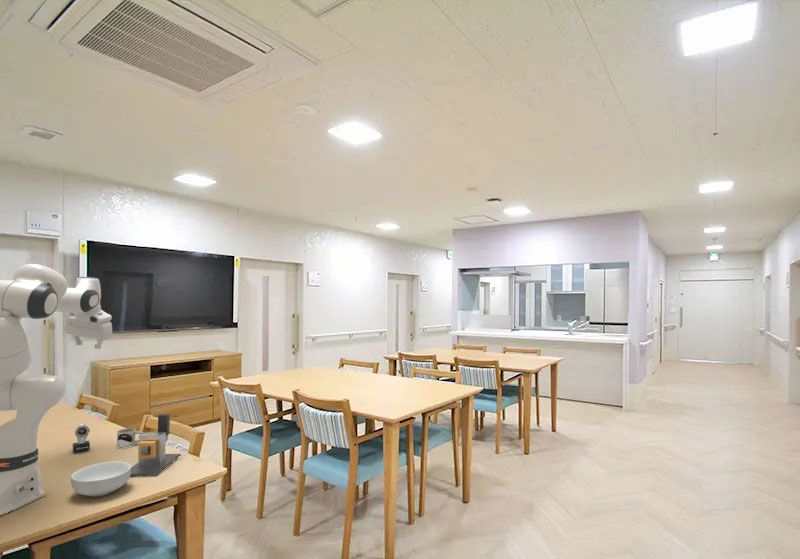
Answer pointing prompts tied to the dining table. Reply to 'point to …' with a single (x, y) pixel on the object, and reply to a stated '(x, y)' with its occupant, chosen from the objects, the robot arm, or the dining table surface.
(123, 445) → the mug
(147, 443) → the orange flat block
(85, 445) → the watch
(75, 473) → the cereal bowl
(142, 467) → the stand
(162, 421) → the dark angled piece
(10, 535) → the dining table surface
